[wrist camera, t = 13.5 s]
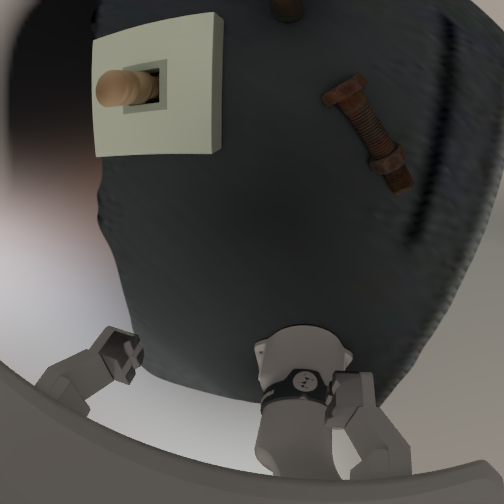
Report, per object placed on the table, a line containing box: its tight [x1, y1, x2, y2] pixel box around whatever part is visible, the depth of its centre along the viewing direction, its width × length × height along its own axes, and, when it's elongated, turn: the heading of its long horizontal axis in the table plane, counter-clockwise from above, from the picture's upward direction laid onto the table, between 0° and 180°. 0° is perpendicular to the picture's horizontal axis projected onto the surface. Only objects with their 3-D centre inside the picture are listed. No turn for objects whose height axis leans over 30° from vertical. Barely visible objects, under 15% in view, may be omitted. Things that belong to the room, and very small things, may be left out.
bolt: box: [322, 74, 414, 195], centre depth 29 cm, size 6×5×15 cm
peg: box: [96, 70, 159, 107], centre depth 27 cm, size 4×4×11 cm
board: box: [92, 12, 224, 157], centre depth 30 cm, size 18×18×4 cm
